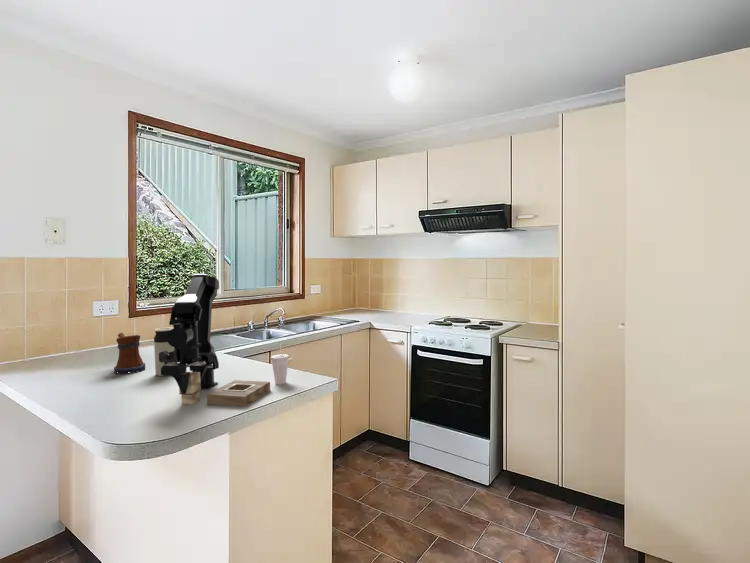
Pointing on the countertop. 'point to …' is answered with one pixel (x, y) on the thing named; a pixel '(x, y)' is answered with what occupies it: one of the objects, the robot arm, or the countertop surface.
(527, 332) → the countertop surface
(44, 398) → the countertop surface
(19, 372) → the countertop surface
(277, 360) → the smoothie
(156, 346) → the travel mug
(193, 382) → the peg
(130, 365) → the mug
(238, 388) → the board
